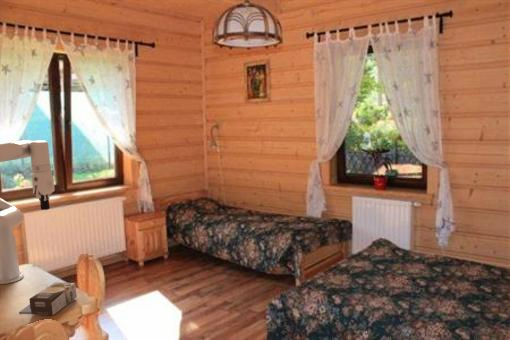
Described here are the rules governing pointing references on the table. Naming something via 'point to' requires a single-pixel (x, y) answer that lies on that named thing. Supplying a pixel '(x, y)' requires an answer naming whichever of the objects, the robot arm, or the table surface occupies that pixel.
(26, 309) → the mat
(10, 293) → the table surface
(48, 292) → the coffee box
